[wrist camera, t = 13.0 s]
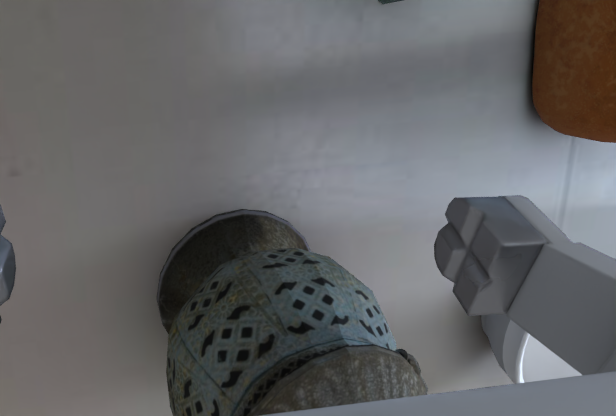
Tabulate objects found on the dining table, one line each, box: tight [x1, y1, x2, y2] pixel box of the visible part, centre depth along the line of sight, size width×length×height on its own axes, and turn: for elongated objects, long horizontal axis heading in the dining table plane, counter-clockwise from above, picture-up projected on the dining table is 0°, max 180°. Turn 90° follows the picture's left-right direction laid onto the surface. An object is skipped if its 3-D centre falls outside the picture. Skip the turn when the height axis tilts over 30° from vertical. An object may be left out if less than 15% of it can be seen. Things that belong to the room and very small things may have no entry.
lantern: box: [157, 209, 428, 416], centre depth 29 cm, size 14×14×25 cm
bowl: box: [481, 314, 582, 384], centre depth 52 cm, size 16×16×9 cm
